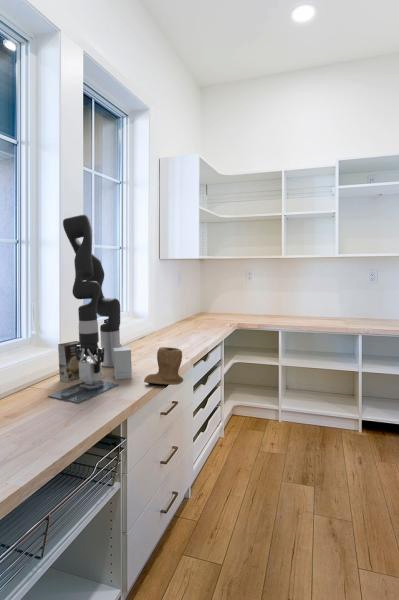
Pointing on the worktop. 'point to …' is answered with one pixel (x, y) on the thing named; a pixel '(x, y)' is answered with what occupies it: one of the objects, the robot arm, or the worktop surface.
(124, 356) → the supplement box
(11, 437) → the worktop surface
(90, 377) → the brushed steel cube
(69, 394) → the grey base plate
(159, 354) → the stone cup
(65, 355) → the coffee box
